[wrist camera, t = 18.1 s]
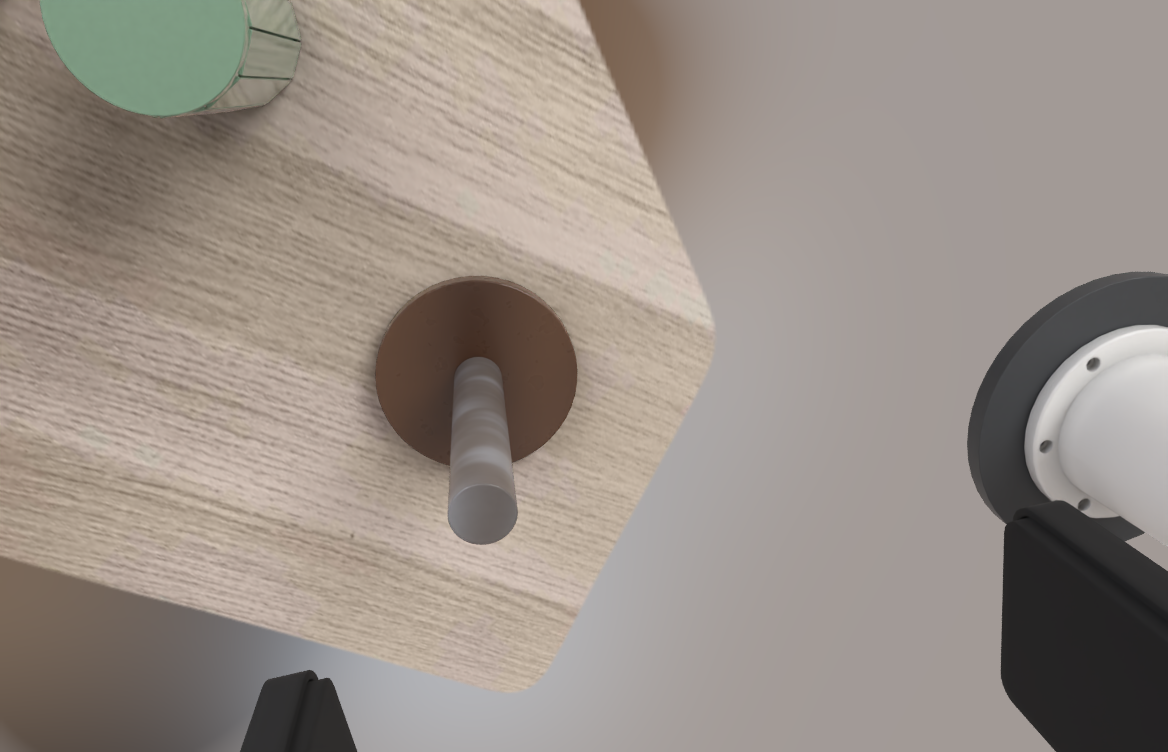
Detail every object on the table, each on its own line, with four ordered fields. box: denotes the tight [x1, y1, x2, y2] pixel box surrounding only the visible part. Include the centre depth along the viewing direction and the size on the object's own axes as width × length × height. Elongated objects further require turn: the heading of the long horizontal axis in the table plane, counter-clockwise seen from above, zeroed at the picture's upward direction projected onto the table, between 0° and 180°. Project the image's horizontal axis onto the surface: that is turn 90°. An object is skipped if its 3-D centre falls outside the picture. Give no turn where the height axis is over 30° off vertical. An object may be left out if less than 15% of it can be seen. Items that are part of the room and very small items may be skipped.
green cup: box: [40, 0, 301, 118], centre depth 33 cm, size 7×7×10 cm
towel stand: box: [375, 276, 577, 545], centre depth 37 cm, size 11×11×16 cm
